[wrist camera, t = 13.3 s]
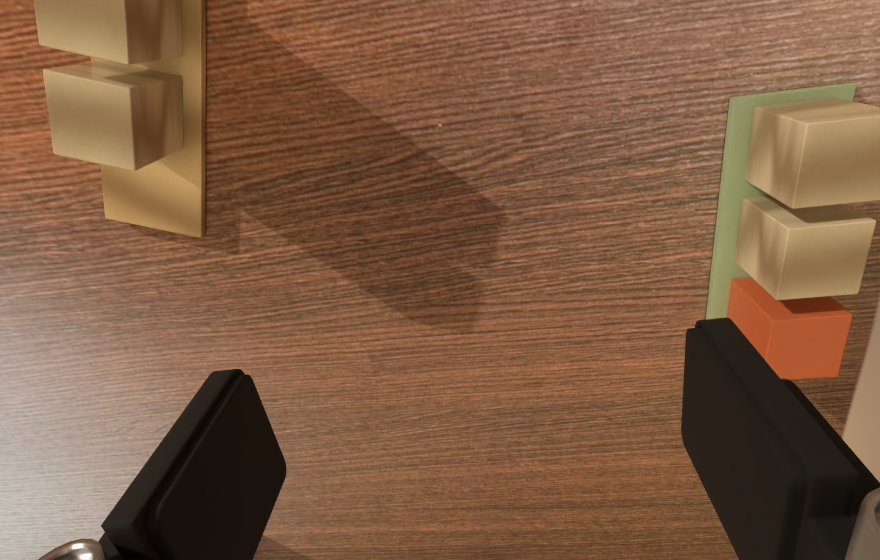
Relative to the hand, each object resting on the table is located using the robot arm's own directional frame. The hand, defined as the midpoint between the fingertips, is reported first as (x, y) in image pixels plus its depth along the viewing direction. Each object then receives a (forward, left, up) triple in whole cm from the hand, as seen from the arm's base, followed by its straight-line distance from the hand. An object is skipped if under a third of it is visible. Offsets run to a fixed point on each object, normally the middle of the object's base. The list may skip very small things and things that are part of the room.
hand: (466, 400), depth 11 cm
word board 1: (+13, -13, -21) cm, 28 cm away
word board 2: (-12, +13, -21) cm, 28 cm away
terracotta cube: (-10, +18, -21) cm, 29 cm away
